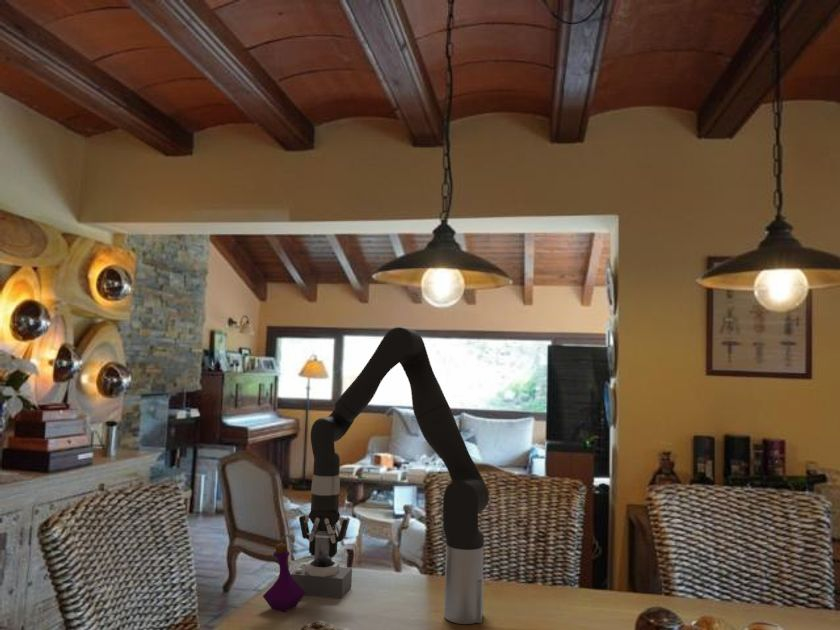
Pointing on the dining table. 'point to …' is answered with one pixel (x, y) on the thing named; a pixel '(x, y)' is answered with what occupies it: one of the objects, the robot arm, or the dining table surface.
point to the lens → (322, 549)
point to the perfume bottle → (284, 582)
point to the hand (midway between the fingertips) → (322, 555)
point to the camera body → (323, 579)
